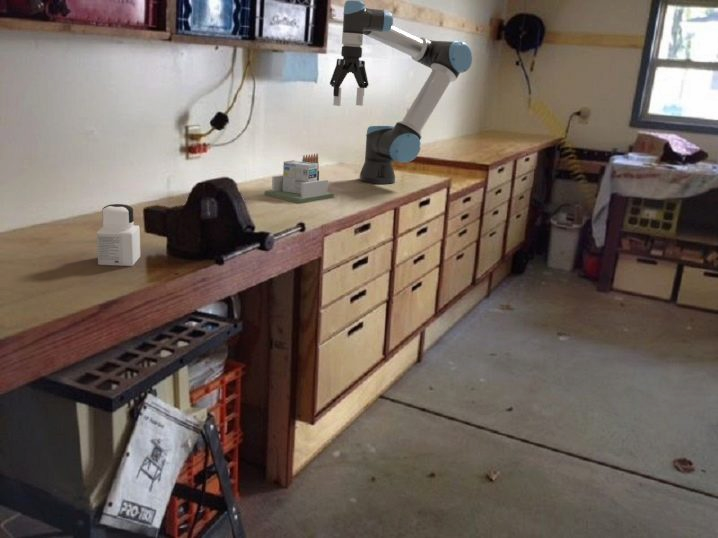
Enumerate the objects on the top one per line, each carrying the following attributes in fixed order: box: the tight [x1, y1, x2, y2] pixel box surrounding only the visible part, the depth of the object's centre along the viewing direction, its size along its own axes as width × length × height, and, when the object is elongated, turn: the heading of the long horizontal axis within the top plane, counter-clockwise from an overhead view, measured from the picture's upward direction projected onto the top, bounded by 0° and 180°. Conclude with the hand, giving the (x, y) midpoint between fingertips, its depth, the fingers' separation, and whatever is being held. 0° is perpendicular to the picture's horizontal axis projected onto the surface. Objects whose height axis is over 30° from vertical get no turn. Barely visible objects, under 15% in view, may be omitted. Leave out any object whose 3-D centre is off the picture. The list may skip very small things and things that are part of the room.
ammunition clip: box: [301, 153, 320, 181], centre depth 264 cm, size 11×2×12 cm, turn 149°
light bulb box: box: [282, 159, 319, 194], centre depth 240 cm, size 11×7×11 cm, turn 66°
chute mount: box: [264, 174, 335, 204], centre depth 241 cm, size 18×17×6 cm
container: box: [96, 203, 141, 267], centre depth 153 cm, size 8×8×13 cm
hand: (348, 105), depth 252 cm, fingers open, 13 cm apart
